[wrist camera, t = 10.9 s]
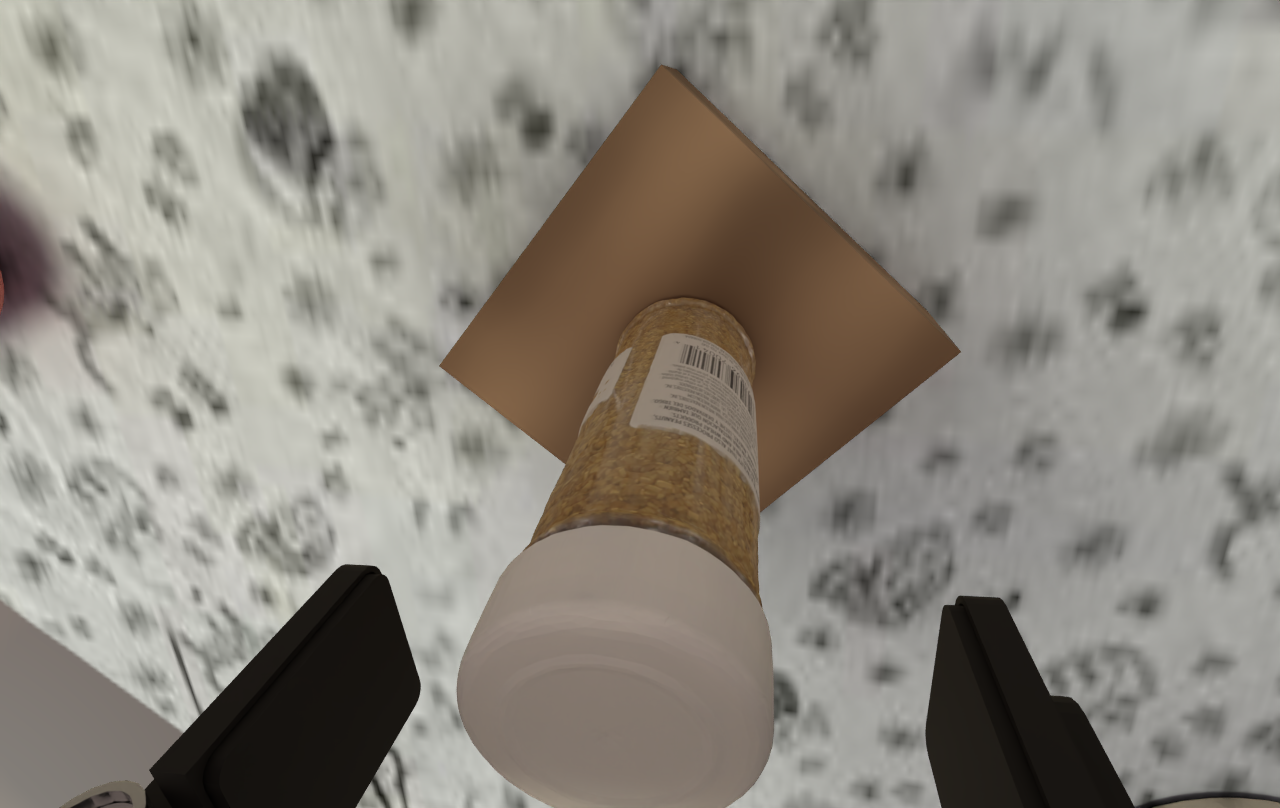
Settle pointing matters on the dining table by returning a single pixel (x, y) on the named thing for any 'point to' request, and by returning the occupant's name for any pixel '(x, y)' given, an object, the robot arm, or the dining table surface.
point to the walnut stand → (699, 290)
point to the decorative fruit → (1, 292)
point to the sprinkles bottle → (638, 590)
